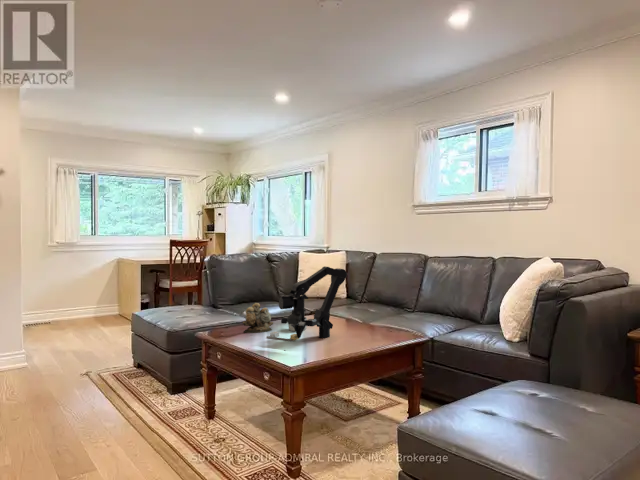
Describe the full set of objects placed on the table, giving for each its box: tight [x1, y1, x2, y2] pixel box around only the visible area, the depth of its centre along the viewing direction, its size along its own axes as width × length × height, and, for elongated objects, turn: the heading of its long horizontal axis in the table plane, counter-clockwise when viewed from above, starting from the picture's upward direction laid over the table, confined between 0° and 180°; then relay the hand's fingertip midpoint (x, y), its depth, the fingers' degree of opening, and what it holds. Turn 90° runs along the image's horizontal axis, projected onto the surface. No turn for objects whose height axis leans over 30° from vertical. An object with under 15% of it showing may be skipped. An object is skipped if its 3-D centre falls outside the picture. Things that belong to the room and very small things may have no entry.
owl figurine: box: [242, 302, 274, 334], centre depth 254 cm, size 18×12×17 cm, turn 120°
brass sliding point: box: [289, 333, 300, 342], centre depth 231 cm, size 5×3×2 cm, turn 151°
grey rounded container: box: [287, 317, 308, 332], centre depth 257 cm, size 14×11×8 cm
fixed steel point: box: [269, 331, 280, 338], centre depth 237 cm, size 6×3×2 cm, turn 151°
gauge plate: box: [266, 335, 294, 342], centre depth 236 cm, size 14×19×2 cm
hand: (299, 337), depth 231 cm, fingers closed
